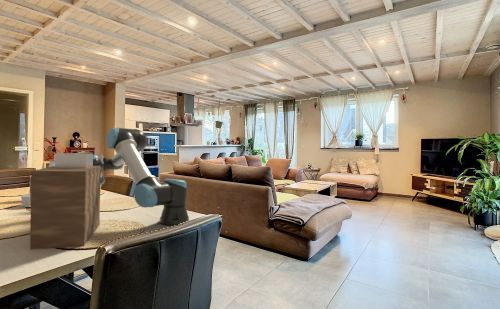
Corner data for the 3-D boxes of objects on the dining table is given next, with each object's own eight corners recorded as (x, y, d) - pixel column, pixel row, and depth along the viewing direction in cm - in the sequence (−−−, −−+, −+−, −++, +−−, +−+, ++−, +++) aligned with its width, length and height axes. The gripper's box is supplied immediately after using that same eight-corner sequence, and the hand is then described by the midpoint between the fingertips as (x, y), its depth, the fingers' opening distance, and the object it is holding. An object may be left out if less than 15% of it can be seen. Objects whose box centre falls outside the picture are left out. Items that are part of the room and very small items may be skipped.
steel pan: (76, 162, 146) (77, 151, 146) (101, 163, 150) (101, 152, 150) (54, 167, 116) (54, 153, 116) (86, 168, 120) (86, 154, 119)
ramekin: (24, 204, 172) (24, 193, 172) (49, 203, 178) (49, 192, 178) (17, 209, 160) (17, 197, 160) (45, 207, 166) (45, 196, 166)
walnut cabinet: (57, 227, 129) (58, 165, 128) (99, 225, 135) (100, 165, 134) (30, 249, 102) (31, 171, 102) (84, 245, 108) (85, 171, 107)
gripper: (116, 177, 166) (112, 162, 148) (69, 177, 158) (58, 161, 140) (117, 166, 169) (113, 150, 152) (72, 166, 161) (61, 149, 144)
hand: (87, 155), depth 146 cm, fingers open, 13 cm apart
